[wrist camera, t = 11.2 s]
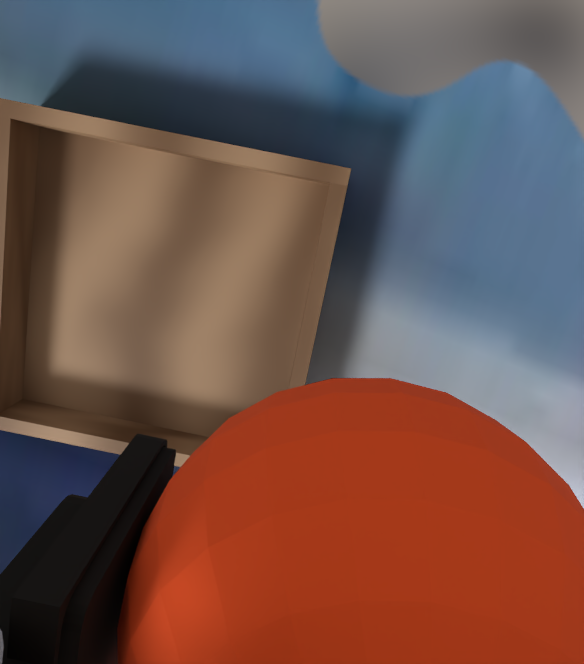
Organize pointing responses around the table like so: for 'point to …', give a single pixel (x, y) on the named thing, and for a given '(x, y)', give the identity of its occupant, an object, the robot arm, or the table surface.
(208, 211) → the walnut tray
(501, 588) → the clementine
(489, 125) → the table surface
